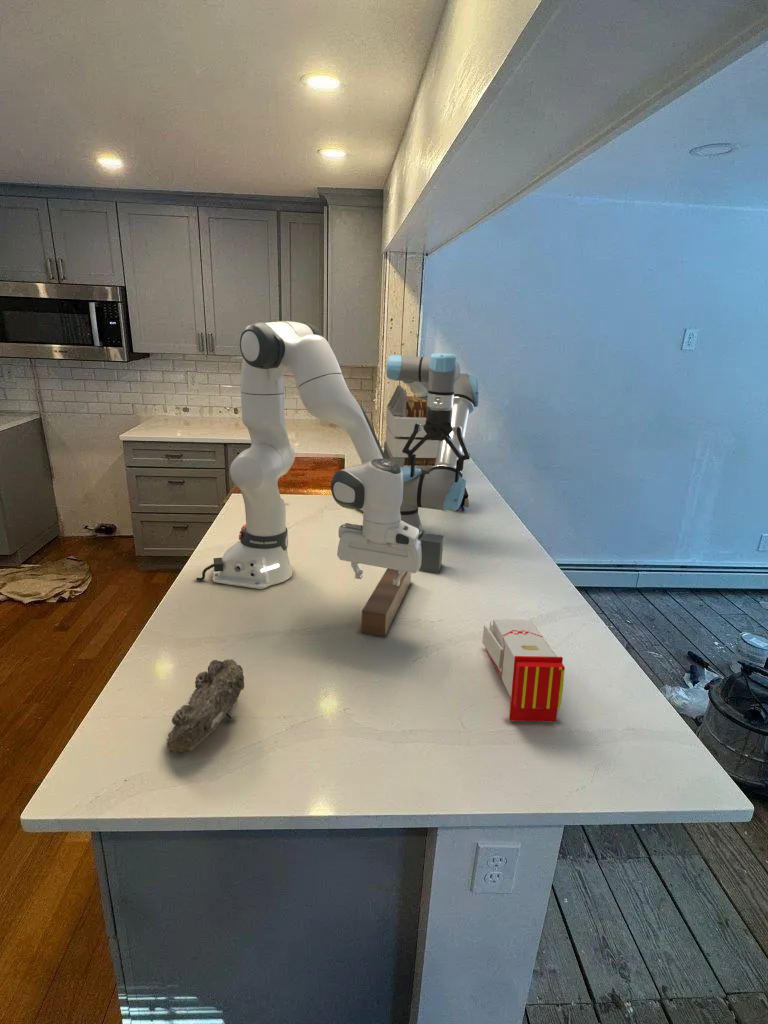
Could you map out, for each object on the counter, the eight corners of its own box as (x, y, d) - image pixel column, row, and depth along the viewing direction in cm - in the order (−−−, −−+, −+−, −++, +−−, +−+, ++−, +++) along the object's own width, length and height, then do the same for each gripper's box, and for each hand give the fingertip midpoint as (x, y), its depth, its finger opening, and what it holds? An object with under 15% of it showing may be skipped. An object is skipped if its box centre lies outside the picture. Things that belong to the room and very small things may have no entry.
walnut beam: (390, 579, 166) (391, 561, 164) (410, 582, 165) (411, 564, 163) (361, 632, 138) (361, 610, 136) (384, 636, 137) (386, 614, 135)
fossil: (192, 660, 117) (244, 628, 112) (224, 691, 120) (276, 661, 115) (142, 746, 98) (202, 712, 93) (182, 779, 101) (242, 748, 96)
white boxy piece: (382, 463, 289) (386, 382, 275) (445, 464, 293) (451, 384, 279) (390, 482, 257) (394, 392, 243) (460, 483, 261) (468, 394, 247)
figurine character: (468, 516, 224) (463, 500, 237) (471, 498, 221) (465, 483, 234) (452, 515, 224) (447, 499, 237) (453, 498, 220) (449, 482, 234)
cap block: (422, 562, 178) (424, 532, 175) (441, 565, 177) (443, 535, 174) (418, 570, 173) (421, 540, 169) (438, 573, 171) (440, 542, 168)
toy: (529, 604, 135) (573, 663, 106) (524, 656, 138) (566, 727, 109) (478, 603, 135) (509, 662, 105) (474, 655, 137) (503, 727, 108)
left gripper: (334, 526, 132) (332, 579, 137) (420, 540, 128) (415, 594, 132) (343, 517, 138) (340, 568, 143) (425, 530, 133) (420, 583, 138)
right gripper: (394, 406, 164) (391, 477, 171) (481, 414, 158) (474, 486, 166) (400, 403, 171) (397, 471, 178) (483, 410, 165) (476, 479, 173)
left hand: (377, 581), depth 138 cm, fingers open, 8 cm apart
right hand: (434, 478), depth 172 cm, fingers open, 13 cm apart
